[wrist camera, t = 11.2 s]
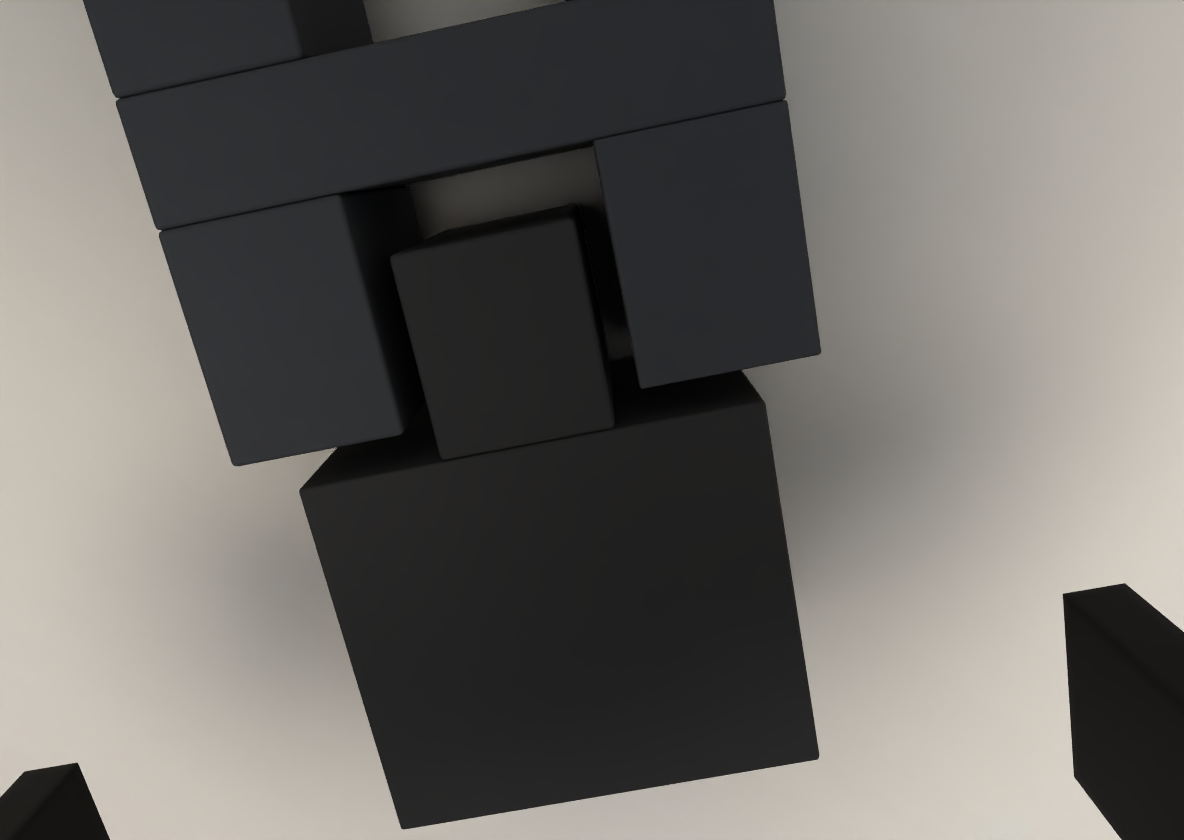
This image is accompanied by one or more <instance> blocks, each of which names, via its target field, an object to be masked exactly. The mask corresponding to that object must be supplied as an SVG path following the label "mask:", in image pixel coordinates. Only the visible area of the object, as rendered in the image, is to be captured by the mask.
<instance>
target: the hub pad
mask: <svg viewBox="0 0 1184 840" xmlns="http://www.w3.org/2000/svg"><path fill="white" fill-rule="evenodd" d="M83 2H84V5H85V8H86V11H87V15H88V18H89V21H90V24H91V27H92V30H93V33H94V36H95V39H96V43H97V46H98V49H99V52H100V55H101V58H102V61H103V64H104V67H105V70H106V74H107V77H108V80H109V83H110V86H111V89H112V92H113V94H114V95H115V97H116V98H121V99H119V100H117V101H116V106H117V109H118V112H119V115H120V118H121V122H122V125H123V128H124V131H125V134H126V137H127V140H128V143H129V146H130V150H131V153H132V156H133V159H134V162H135V165H136V168H137V171H138V174H139V177H140V181H141V184H142V187H143V190H144V193H145V196H146V199H147V202H148V205H149V208H150V212H151V215H152V218H153V221H154V224H155V227H156V228H157V229H158V230H162V231H161V232H160V233H159V238H160V242H161V245H162V248H163V251H164V254H165V257H166V260H167V263H168V266H169V270H170V273H171V276H172V279H173V282H174V285H175V288H176V291H177V294H178V297H179V301H180V304H181V307H182V310H183V313H184V316H185V319H186V322H187V325H188V329H189V332H190V335H191V338H192V341H193V344H194V347H195V350H196V353H197V356H198V360H199V363H200V366H201V369H202V372H203V375H204V378H205V381H206V384H207V388H208V391H209V394H210V397H211V400H212V403H213V406H214V409H215V412H216V415H217V419H218V422H219V425H220V428H221V431H222V434H223V437H224V440H225V443H226V447H227V450H228V453H229V456H230V459H231V462H232V464H233V465H234V466H242V465H248V464H253V463H258V462H263V461H268V460H274V459H279V458H284V457H289V456H294V455H299V454H305V453H310V452H315V451H320V450H325V449H330V448H336V447H341V446H346V445H351V444H356V443H362V442H367V441H372V440H377V439H382V438H387V437H393V436H398V435H401V434H402V433H403V432H404V431H405V430H406V428H407V427H408V425H409V424H410V423H411V421H412V420H413V418H414V417H415V416H416V414H417V413H418V411H419V410H420V408H421V407H422V406H423V404H424V403H425V401H426V399H425V395H424V391H423V387H422V383H421V379H420V376H419V372H418V368H417V364H416V360H415V356H414V352H413V348H412V344H411V340H410V337H409V333H408V329H407V325H406V321H405V317H404V313H403V309H402V305H401V301H400V298H399V294H398V290H397V286H396V282H395V278H394V274H393V270H392V266H391V262H390V258H391V256H392V255H394V254H395V253H398V252H400V251H402V250H404V249H406V248H409V247H411V246H413V245H415V244H417V243H419V242H422V240H421V236H420V232H419V228H418V224H417V220H416V216H415V212H414V208H413V204H412V200H411V196H410V192H409V189H408V187H407V186H405V185H409V184H414V183H419V182H424V181H429V180H433V179H438V178H443V177H448V176H452V175H457V174H462V173H467V172H472V171H476V170H481V169H486V168H491V167H496V166H500V165H505V164H510V163H515V162H520V161H524V160H529V159H534V158H539V157H543V156H548V155H553V154H558V153H563V152H567V151H572V150H577V149H582V148H587V147H591V146H593V147H594V153H595V158H596V164H597V169H598V174H599V179H600V185H601V190H602V195H603V200H604V205H605V211H606V216H607V221H608V226H609V232H610V237H611V242H612V247H613V253H614V258H615V263H616V268H617V273H618V279H619V284H620V289H621V294H622V300H623V305H624V310H625V315H626V320H627V326H628V331H629V336H630V341H631V346H632V351H633V356H634V361H635V366H636V371H637V375H638V380H639V385H640V388H642V389H644V388H649V387H655V386H660V385H665V384H670V383H675V382H680V381H686V380H691V379H696V378H701V377H706V376H712V375H717V374H722V373H727V372H732V371H737V370H743V369H748V368H753V367H758V366H763V365H768V364H774V363H779V362H784V361H789V360H794V359H800V358H805V357H810V356H815V355H819V354H821V347H820V339H819V332H818V325H817V317H816V310H815V302H814V295H813V287H812V280H811V273H810V265H809V258H808V250H807V243H806V236H805V228H804V221H803V213H802V206H801V199H800V191H799V184H798V176H797V169H796V161H795V154H794V147H793V139H792V132H791V124H790V117H789V110H788V103H787V101H785V100H783V99H785V96H786V90H785V83H784V76H783V68H782V61H781V53H780V46H779V39H778V31H777V24H776V16H775V9H774V2H773V0H565V2H561V3H556V4H552V5H547V6H542V7H538V8H533V9H529V10H524V11H520V12H515V13H510V14H506V15H501V16H497V17H492V18H487V19H483V20H478V21H474V22H469V23H465V24H460V25H455V26H451V27H446V28H442V29H437V30H432V31H428V32H423V33H419V34H414V35H409V36H405V37H400V38H396V39H391V40H387V41H382V42H377V43H373V41H372V37H371V33H370V29H369V25H368V21H367V17H366V13H365V9H364V5H363V1H362V0H83Z"/></svg>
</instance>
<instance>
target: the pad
mask: <svg viewBox="0 0 1184 840" xmlns="http://www.w3.org/2000/svg"><path fill="white" fill-rule="evenodd" d="M390 262H391V266H392V270H393V274H394V278H395V282H396V286H397V290H398V294H399V298H400V301H401V305H402V309H403V313H404V317H405V321H406V325H407V329H408V333H409V337H410V340H411V344H412V348H413V352H414V356H415V360H416V364H417V368H418V372H419V376H420V379H421V383H422V387H423V391H424V395H425V399H426V401H425V403H424V404H423V406H422V407H421V408H420V410H419V411H418V413H417V414H416V416H415V417H414V418H413V420H412V421H411V423H410V424H409V425H408V427H407V428H406V430H405V431H404V432H403V433H402V434H401V435H398V436H393V437H387V438H382V439H377V440H372V441H367V442H362V443H356V444H351V445H346V446H341V447H338V448H337V449H336V450H335V451H334V452H333V453H332V454H331V455H330V456H329V458H328V459H327V460H326V461H325V462H324V463H323V464H322V465H321V466H320V468H319V469H318V470H317V471H316V472H315V473H314V474H313V475H312V476H311V478H310V479H309V480H308V481H307V482H306V483H305V484H304V485H303V486H302V488H301V489H300V491H299V493H300V496H301V499H302V503H303V506H304V509H305V513H306V516H307V519H308V522H309V526H310V529H311V532H312V536H313V539H314V542H315V546H316V549H317V552H318V555H319V559H320V562H321V565H322V569H323V572H324V575H325V578H326V582H327V585H328V588H329V592H330V595H331V598H332V602H333V605H334V608H335V611H336V615H337V618H338V621H339V625H340V628H341V631H342V635H343V638H344V641H345V644H346V648H347V651H348V654H349V658H350V661H351V664H352V667H353V671H354V674H355V677H356V681H357V684H358V687H359V691H360V694H361V697H362V700H363V704H364V707H365V710H366V714H367V717H368V720H369V724H370V727H371V730H372V733H373V737H374V740H375V743H376V747H377V750H378V753H379V756H380V760H381V763H382V766H383V770H384V773H385V776H386V780H387V783H388V786H389V789H390V793H391V796H392V799H393V803H394V806H395V809H396V813H397V816H398V819H399V822H400V826H401V828H402V829H410V828H416V827H421V826H427V825H433V824H439V823H445V822H451V821H457V820H463V819H469V818H475V817H481V816H486V815H492V814H498V813H504V812H510V811H516V810H522V809H528V808H534V807H540V806H545V805H551V804H557V803H563V802H569V801H575V800H581V799H587V798H593V797H599V796H605V795H610V794H616V793H622V792H628V791H634V790H640V789H646V788H652V787H658V786H664V785H670V784H675V783H681V782H687V781H693V780H699V779H705V778H711V777H717V776H723V775H729V774H734V773H740V772H746V771H752V770H758V769H764V768H770V767H776V766H782V765H788V764H794V763H799V762H805V761H811V760H817V759H819V750H818V743H817V737H816V730H815V724H814V717H813V711H812V704H811V698H810V691H809V685H808V678H807V672H806V665H805V659H804V652H803V646H802V639H801V633H800V626H799V620H798V613H797V607H796V600H795V594H794V587H793V581H792V574H791V568H790V561H789V555H788V548H787V542H786V535H785V529H784V522H783V516H782V509H781V503H780V496H779V490H778V483H777V477H776V470H775V464H774V457H773V451H772V444H771V438H770V431H769V425H768V418H767V412H766V405H765V402H764V401H763V399H762V398H761V397H760V395H759V394H758V392H757V391H756V390H755V388H754V387H753V385H752V384H751V383H750V381H749V380H748V378H747V377H746V376H745V374H744V373H743V371H742V370H737V371H732V372H727V373H722V374H717V375H712V376H706V377H701V378H696V379H691V380H686V381H680V382H675V383H670V384H665V385H660V386H655V387H649V388H644V389H642V388H640V385H639V380H638V375H637V371H636V366H635V361H634V357H628V358H623V359H618V360H613V361H610V357H609V352H608V347H607V342H606V337H605V332H604V327H603V322H602V317H601V312H600V307H599V302H598V297H597V292H596V287H595V282H594V276H593V271H592V266H591V261H590V256H589V251H588V246H587V241H586V236H585V231H584V226H583V221H582V216H581V211H580V207H579V205H577V204H572V205H567V206H562V207H557V208H553V209H548V210H543V211H538V212H533V213H528V214H523V215H518V216H514V217H509V218H504V219H499V220H494V221H489V222H484V223H480V224H475V225H470V226H465V227H460V228H455V229H450V230H446V231H444V232H441V233H439V234H437V235H435V236H433V237H430V238H428V239H426V240H424V241H422V242H419V243H417V244H415V245H413V246H411V247H409V248H406V249H404V250H402V251H400V252H398V253H395V254H394V255H392V256H391V258H390Z"/></svg>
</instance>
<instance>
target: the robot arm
mask: <svg viewBox="0 0 1184 840" xmlns="http://www.w3.org/2000/svg"><path fill="white" fill-rule="evenodd" d="M1063 604H1064V620H1065V637H1066V653H1067V669H1068V686H1069V702H1070V718H1071V735H1072V751H1073V767H1074V777H1075V778H1076V780H1077V781H1078V782H1079V784H1080V785H1081V786H1082V788H1083V789H1084V790H1085V792H1086V793H1087V794H1088V796H1089V797H1090V798H1091V800H1092V801H1093V802H1094V804H1095V805H1096V806H1097V808H1098V809H1099V810H1100V812H1101V813H1102V814H1103V816H1104V817H1105V818H1106V820H1107V821H1108V822H1109V824H1110V825H1111V826H1112V828H1113V829H1114V830H1115V831H1116V833H1117V834H1118V835H1119V837H1120V838H1121V839H1122V840H1184V632H1183V631H1182V630H1181V629H1179V628H1178V627H1177V626H1176V625H1174V624H1173V623H1172V622H1171V621H1170V620H1168V619H1167V618H1166V617H1165V616H1164V615H1162V614H1161V613H1160V612H1159V611H1158V610H1156V609H1155V608H1154V607H1153V606H1152V605H1150V604H1149V603H1148V602H1147V601H1146V600H1144V599H1143V598H1142V597H1141V596H1140V595H1138V594H1137V593H1136V592H1135V591H1133V590H1132V589H1131V588H1130V587H1129V586H1127V585H1126V584H1125V583H1124V584H1118V585H1112V586H1106V587H1100V588H1095V589H1089V590H1083V591H1077V592H1071V593H1065V594H1063ZM0 840H110V839H109V836H108V834H107V831H106V829H105V827H104V824H103V822H102V820H101V817H100V815H99V812H98V810H97V808H96V805H95V803H94V800H93V798H92V796H91V793H90V791H89V789H88V786H87V784H86V781H85V779H84V777H83V774H82V772H81V769H80V767H79V765H78V763H72V764H67V765H61V766H55V767H49V768H43V769H37V770H31V771H26V772H24V773H23V774H22V775H21V776H20V777H19V778H18V779H17V780H16V781H15V782H14V783H13V784H12V786H11V787H10V788H9V789H8V790H7V791H6V792H5V793H4V794H3V795H2V796H1V797H0Z"/></svg>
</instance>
